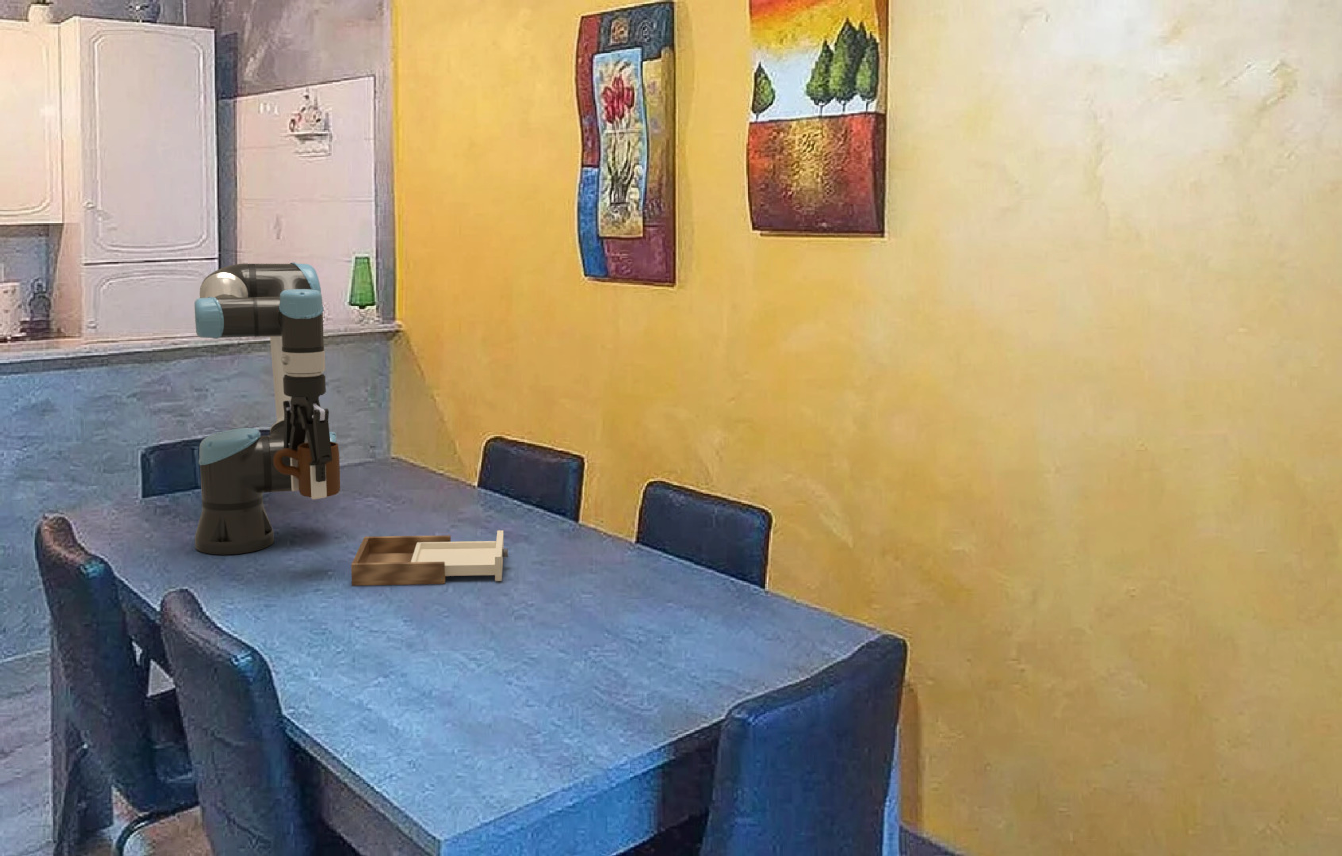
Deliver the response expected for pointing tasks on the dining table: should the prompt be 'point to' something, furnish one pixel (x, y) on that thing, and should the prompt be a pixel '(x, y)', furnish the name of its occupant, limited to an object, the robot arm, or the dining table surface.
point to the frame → (395, 562)
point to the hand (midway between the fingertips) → (309, 493)
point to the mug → (304, 468)
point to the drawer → (465, 556)
